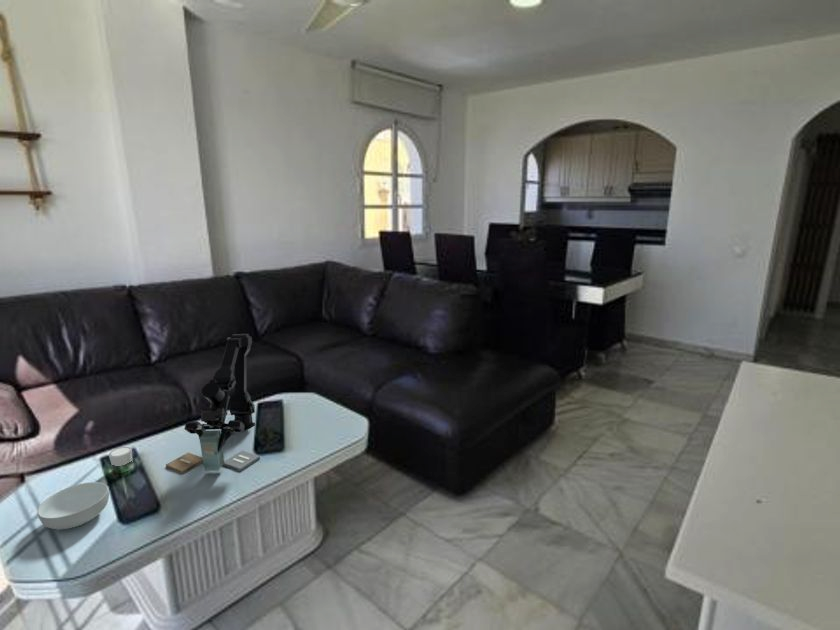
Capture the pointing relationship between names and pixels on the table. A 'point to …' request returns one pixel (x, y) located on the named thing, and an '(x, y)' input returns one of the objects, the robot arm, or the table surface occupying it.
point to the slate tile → (241, 460)
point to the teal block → (211, 450)
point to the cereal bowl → (73, 505)
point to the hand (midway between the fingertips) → (210, 451)
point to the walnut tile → (185, 463)
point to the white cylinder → (121, 456)
